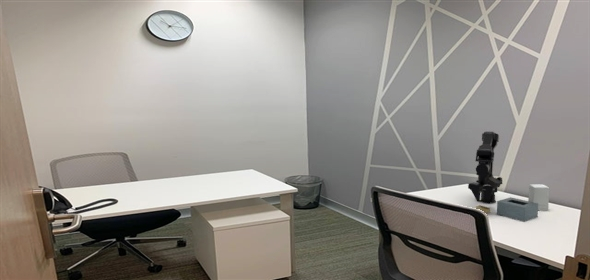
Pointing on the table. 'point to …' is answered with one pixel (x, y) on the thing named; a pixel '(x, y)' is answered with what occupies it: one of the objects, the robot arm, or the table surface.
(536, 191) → the supplement box
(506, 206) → the box
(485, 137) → the robot arm
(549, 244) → the table surface
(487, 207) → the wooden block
